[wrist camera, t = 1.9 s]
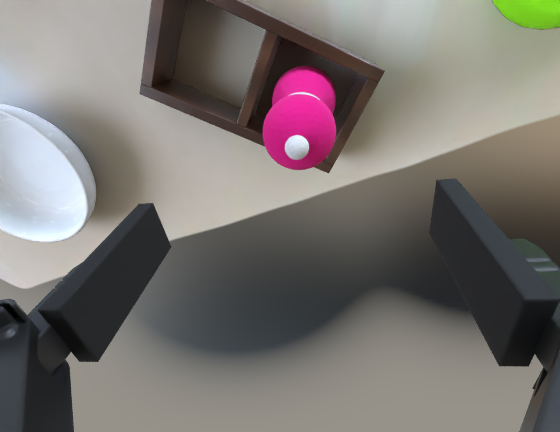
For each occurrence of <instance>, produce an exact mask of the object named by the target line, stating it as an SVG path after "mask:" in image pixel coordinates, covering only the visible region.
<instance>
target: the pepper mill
mask: <svg viewBox="0 0 560 432" xmlns="http://www.w3.org/2000/svg"><path fill="white" fill-rule="evenodd" d="M335 105H336V91H335V88H334V85H333V83H332V81H331V79H330V78H329V77H328V76H327V75H326V74H325V73H324V72H323V71H322V70H320V69H318V68H315V67H312V66H298V67H295V68H292V69H290V70H288V71H287V72H285V73H284V74H283V75H282V76H281V77H280V79H279V80H278V82H277V83H276V85H275V88H274V91H273V96H272V108H271V109H270V110H269V112H268V113H267V115H266V118H265V120H264V124H263V140H264V144H265V147H266V149H267V151H268V153H269V155H270V156H271V157H272V158H273V159H274V160H275V161H276V162H277V163H278V164H280V165H281V166H284V167H286V168H289V169H293V170H305V169H308V168H312V167H314V166H316V165H318V164H319V163H321V162H322V161H323V160H324V159H325V158H326V157H327V156H328V155H329V153H330V152H331V150H332V148H333V146H334V142H335V137H336V125H335V120H334V117H333V113H334V109H335Z"/></svg>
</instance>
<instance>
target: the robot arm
mask: <svg viewBox="0 0 560 432" xmlns="http://www.w3.org/2000/svg"><path fill="white" fill-rule="evenodd" d="M430 235H431V237H432V239H433V241H434V242H435V244H436V246H437V248H438V250H439V252H440V254H441V256H442V258H443V260H444V262H445V263H446V265H447V267H448V269H449V271H450V273H451V275H452V277H453V279H454V281H455V283H456V285H457V286H458V288H459V290H460V292H461V294H462V296H463V298H464V300H465V302H466V304H467V306H468V307H469V309H470V311H471V313H472V315H473V317H474V319H475V321H476V323H477V325H478V327H479V329H480V330H481V332H482V334H483V336H484V338H485V340H486V342H487V344H488V346H489V348H490V350H491V351H492V353H493V355H494V357H495V359H496V361H497V363H498V364H499V366H529V364H530V362H531V360H532V358H533V356H534V354H535V355H536V356H537V358H538V359H539V361H540V362H541V364H542V365H543V369H542V371H541V373H540V375H539V377H538V379H537V381H536V383H535V385H534V387H533V389H535V390H534V393H533V395H532V398H531V401H530V404H529V407H528V409H527V412H526V415H525V417H524V420H523V423H522V426H521V429H520V431H519V432H560V268H559V267H558V266H557V265H556V264H555V263H554V262H553V261H551V259H550V258H549V257H548V256H547V255H546V254H545V253H544V251H542V249H541V248H539V247H538V246H536V245H534V244H532V243H530V242H529V241H527V240H525V239H508V238H507V237H506V236H505V235H504V233H503V232H502V231H501V230H500V229H499V227H498V226H497V225H496V224H495V223H494V222H493V221H492V220H491V218H490V217H489V216H488V215H487V214H486V213H485V212H484V210H483V209H482V208H481V207H480V206H479V205H478V203H477V202H476V201H475V200H474V199H473V198H472V196H471V195H470V194H469V193H468V192H467V191H466V190H465V188H464V187H463V186H462V185H461V184H460V183H459V181H458V180H457V179H444V180H437V181H436V188H435V195H434V203H433V210H432V217H431V225H430ZM170 248H171V245H170V243H169V240H168V238H167V236H166V233H165V231H164V228H163V226H162V224H161V221H160V219H159V216H158V214H157V212H156V209H155V207H154V204H153V203H146V204H138V205H137V207H136V208H135V209H134V210H133V211H132V212H131V213H130V214H129V215H128V216H127V217H126V218H125V219H124V220H123V221H122V222H121V223H120V224H119V225H118V226H117V227H116V228H115V229H114V230H113V232H112V233H111V234H110V235H109V236H108V237H107V238H106V239H105V240H104V241H103V242H102V243H101V244H100V245H99V246H98V247H97V248H96V249H95V250H94V251H93V252H92V253H91V254H90V255H89V257H88V258H87V259H86V260H85V261H84V262H82V263H81V264H79V265H78V266H77V267H75V268H74V269H72V270H71V271H70V272H69V273H68V274H67V275H66V276H65V277H64V278H63V281H61V282H59V283H58V284H57V285H56V286H55V289H53V290H52V291H51V292H50V293H49V294H48V295H47V296H46V297H45V298H44V299H43V300H42V301H41V302H40V303H39V304H38V305H37V306H36V307H35V308H34V309H33V310H32V311H31V312H30V313H29V314H28V315H26V313H25V312H24V311H23V310H22V309H21V308H20V306H19V305H18V304H17V303H16V302H15V301H14V300H12V299H5V300H0V432H74V426H73V412H72V397H71V382H70V368H69V365H68V363H67V361H66V360H65V359H66V358H67V356H68V355H69V354H70V352H72V353H73V354H74V356H75V357H76V358H77V359H78V360H79V362H85V361H86V362H98V361H99V359H100V358H101V356H102V355H103V353H104V352H105V350H106V348H107V347H108V345H109V344H110V342H111V341H112V339H113V337H114V336H115V334H116V333H117V331H118V330H119V328H120V327H121V325H122V323H123V322H124V320H125V319H126V317H127V316H128V314H129V312H130V311H131V309H132V307H133V306H134V305H135V303H136V301H137V300H138V298H139V297H140V295H141V294H142V292H143V290H144V289H145V287H146V286H147V284H148V283H149V281H150V279H151V278H152V276H153V275H154V273H155V272H156V270H157V269H158V267H159V265H160V264H161V262H162V261H163V259H164V258H165V256H166V254H167V253H168V251H169V250H170Z"/></svg>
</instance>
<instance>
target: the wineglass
mask: <svg viewBox="0 0 560 432" xmlns="http://www.w3.org/2000/svg"><path fill="white" fill-rule="evenodd" d="M493 3H494V4H495V6H496V7H497V8H498V9H499V10H500V12H501V13H502V14H503V15H504V16H505V18H507V19H509V20H511V21H513V22H514V23H516V24H518V25H520V26H522V27H528V28H535V29H549V28H556V27H560V0H493Z"/></svg>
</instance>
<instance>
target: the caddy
mask: <svg viewBox="0 0 560 432" xmlns="http://www.w3.org/2000/svg"><path fill="white" fill-rule="evenodd" d="M204 1H207V2H209V3H211V4H213V5H215V6H217V7H219V8H221V9H224V10H226V11H228V12H230V13H232V14H234V15H236V16H238V17H241V18H243V19H245V20H247V21H249V22H251V23H253V24H255V25H257V26H260V27H262V28H264V29H266V33H265V36H264V39H263V42H262V45H261V48H260V51H259V55H258V58H257V61H256V64H255V67H254V70H253V73H252V76H251V80H250V83H249V86H248V89H247V92H246V95H245V98H244V102H243V105H242V108H239V107H236V106H234V105H232V104H229V103H227V102H225V101H222V100H220V99H218V98H215V97H213V96H211V95H209V94H206V93H204V92H202V91H199V90H197V89H195V88H192V87H190V86H188V85H185V84H183V83H181V82H178V81H176V80H174V79H172V78H173V73H174V67H175V62H176V56H177V51H178V45H179V40H180V34H181V29H182V24H183V18H184V13H185V7H186V2H187V0H152V2H151V10H150V18H149V25H148V33H147V41H146V49H145V56H144V64H143V72H142V80H141V87H140V94H141V95H144V96H146V97H148V98H151V99H153V100H156V101H158V102H160V103H163V104H165V105H167V106H170V107H172V108H175V109H177V110H179V111H182V112H184V113H186V114H189V115H191V116H194V117H196V118H198V119H201V120H203V121H205V122H208V123H210V124H213V125H215V126H217V127H220V128H222V129H225V130H227V131H229V132H232V133H234V134H236V135H239V136H241V137H244V138H246V139H248V140H251V141H253V142H255V143H258V144H260V145H263V146H265V144H264V140H263V124H264V120H265V119H264V118H262V117H259V116H257V115H255V112H256V109H257V106H258V103H259V100H260V98H261V95H262V92H263V89H264V86H265V83H266V80H267V78H268V75H269V72H270V69H271V66H272V63H273V60H274V57H275V55H276V52H277V49H278V46H279V43H280V40H281V37H283V38H285V39H287V40H289V41H291V42H294V43H296V44H298V45H300V46H302V47H304V48H306V49H308V50H310V51H313V52H315V53H317V54H319V55H321V56H323V57H325V58H327V59H330V60H332V61H334V62H336V63H338V64H340V65H342V66H344V67H347V68H349V69H351V70H353V71H355V72H357V73H359V75H358V77H357V79H356V81H355V83H354V85H353V87H352V89H351V91H350V93H349V95H348V97H347V99H346V101H345V103H344V105H343V106H342V108H341V110H340V112H339V114H338V116H337V118H336V120H335V125H336V137H335V142H334V146H333V148H332V150H331V152H330V153H329V155H328V156H327V157H326V158H325V159H324V160H323V161H322V162H321V163H319V164H318V165H316V166H314V167H315V168H317V169H320V170H322V171H324V172H327V173H329V172H330V170H331V169H332V167H333V165H334V163H335V161H336V159H337V158H338V156H339V154H340V152H341V150H342V148H343V147H344V145H345V143H346V141H347V139H348V137H349V136H350V134H351V132H352V130H353V128H354V126H355V125H356V123H357V121H358V119H359V117H360V115H361V114H362V112H363V110H364V108H365V106H366V104H367V103H368V101H369V99H370V97H371V95H372V94H373V92H374V90H375V88H376V86H377V84H378V82H379V81H380V79H381V77H382V75H383V73H384V72H385V71H384V70H383V69H382V68H381V67H379V66H378V65H377V64H376V63H374V62H372V61H370V60H368V59H365V58H363V57H361V56H359V55H357V54H355V53H353V52H351V51H349V50H347V49H345V48H343V47H340V46H338V45H336V44H334V43H332V42H330V41H328V40H326V39H324V38H322V37H320V36H318V35H315V34H313V33H311V32H309V31H307V30H305V29H303V28H301V27H299V26H297V25H295V24H293V23H290V22H288V21H286V20H284V19H282V18H280V17H278V16H276V15H274V14H272V13H270V12H267V11H265V10H263V9H261V8H259V7H257V6H255V5H253V4H251V3H249V2H247V1H245V0H204Z"/></svg>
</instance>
